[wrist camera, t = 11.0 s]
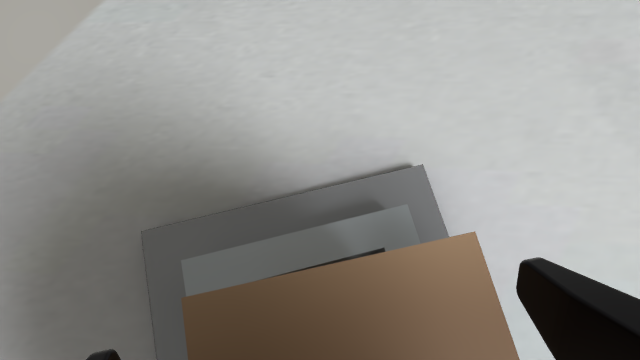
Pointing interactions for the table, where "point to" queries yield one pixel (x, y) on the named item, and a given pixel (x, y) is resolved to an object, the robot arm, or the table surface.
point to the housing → (282, 241)
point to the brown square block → (359, 310)
